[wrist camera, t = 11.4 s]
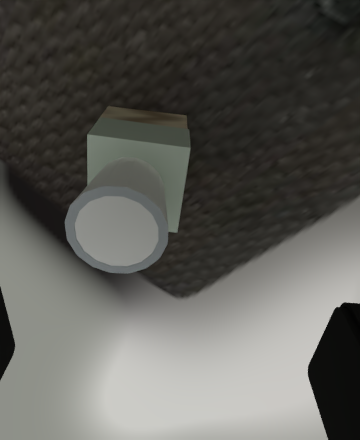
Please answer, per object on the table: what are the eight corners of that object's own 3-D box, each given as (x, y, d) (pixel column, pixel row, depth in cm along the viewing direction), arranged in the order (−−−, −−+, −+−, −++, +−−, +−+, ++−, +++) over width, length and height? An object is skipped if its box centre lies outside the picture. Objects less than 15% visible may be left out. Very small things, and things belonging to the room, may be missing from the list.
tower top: (189, 129, 31) (190, 147, 27) (177, 205, 35) (177, 232, 31) (100, 117, 31) (87, 134, 26) (99, 196, 35) (87, 222, 30)
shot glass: (142, 237, 31) (133, 289, 25) (74, 197, 29) (46, 243, 23) (188, 180, 28) (189, 224, 22) (115, 131, 26) (96, 164, 20)
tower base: (186, 115, 35) (187, 129, 31) (177, 185, 39) (177, 205, 35) (108, 105, 35) (98, 119, 31) (107, 177, 39) (99, 197, 35)
